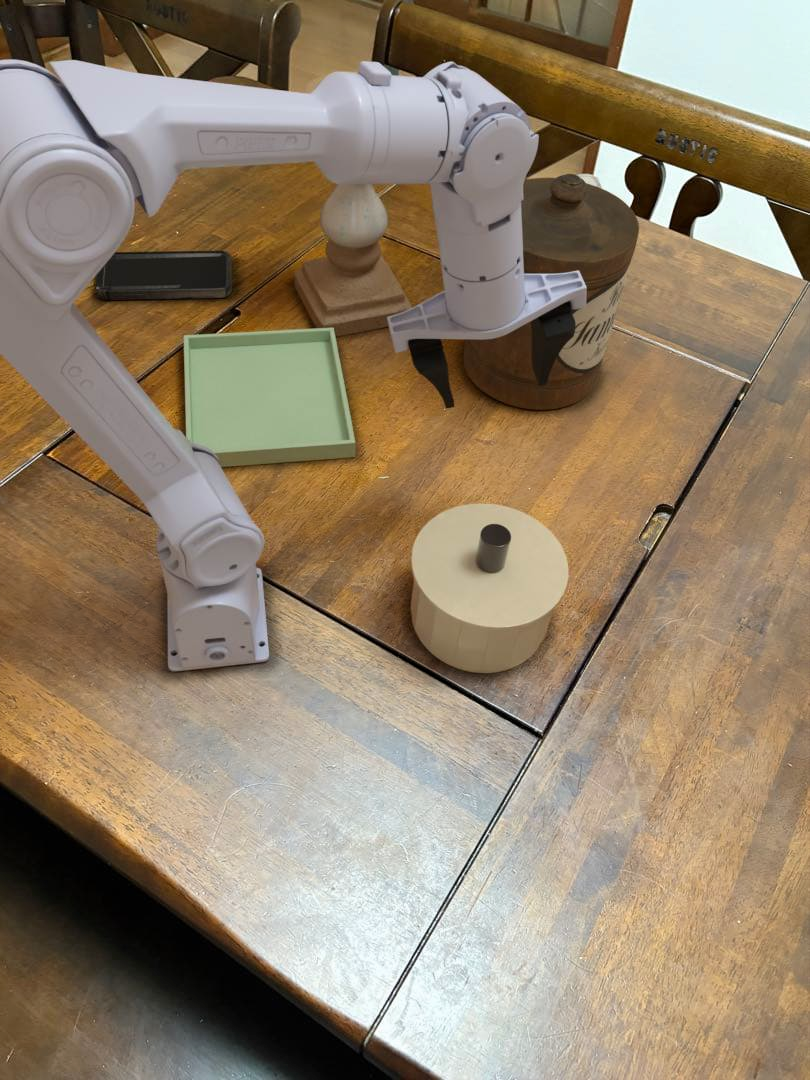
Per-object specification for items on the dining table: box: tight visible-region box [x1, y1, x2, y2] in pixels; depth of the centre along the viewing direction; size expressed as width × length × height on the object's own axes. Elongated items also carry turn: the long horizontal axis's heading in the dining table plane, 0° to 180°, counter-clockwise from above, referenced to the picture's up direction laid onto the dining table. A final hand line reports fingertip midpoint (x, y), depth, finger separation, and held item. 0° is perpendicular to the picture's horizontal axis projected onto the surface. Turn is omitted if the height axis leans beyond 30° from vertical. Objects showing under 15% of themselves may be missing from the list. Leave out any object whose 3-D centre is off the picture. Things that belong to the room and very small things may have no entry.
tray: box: [183, 327, 357, 468], centre depth 93 cm, size 18×16×2 cm
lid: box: [410, 502, 570, 631], centre depth 72 cm, size 13×13×4 cm
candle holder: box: [293, 70, 413, 338], centre depth 97 cm, size 11×11×24 cm
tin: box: [409, 579, 555, 674], centre depth 76 cm, size 12×12×7 cm
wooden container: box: [463, 173, 640, 411], centre depth 92 cm, size 15×15×22 cm
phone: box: [94, 250, 233, 301], centre depth 106 cm, size 8×1×15 cm
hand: (493, 387), depth 74 cm, fingers open, 7 cm apart
